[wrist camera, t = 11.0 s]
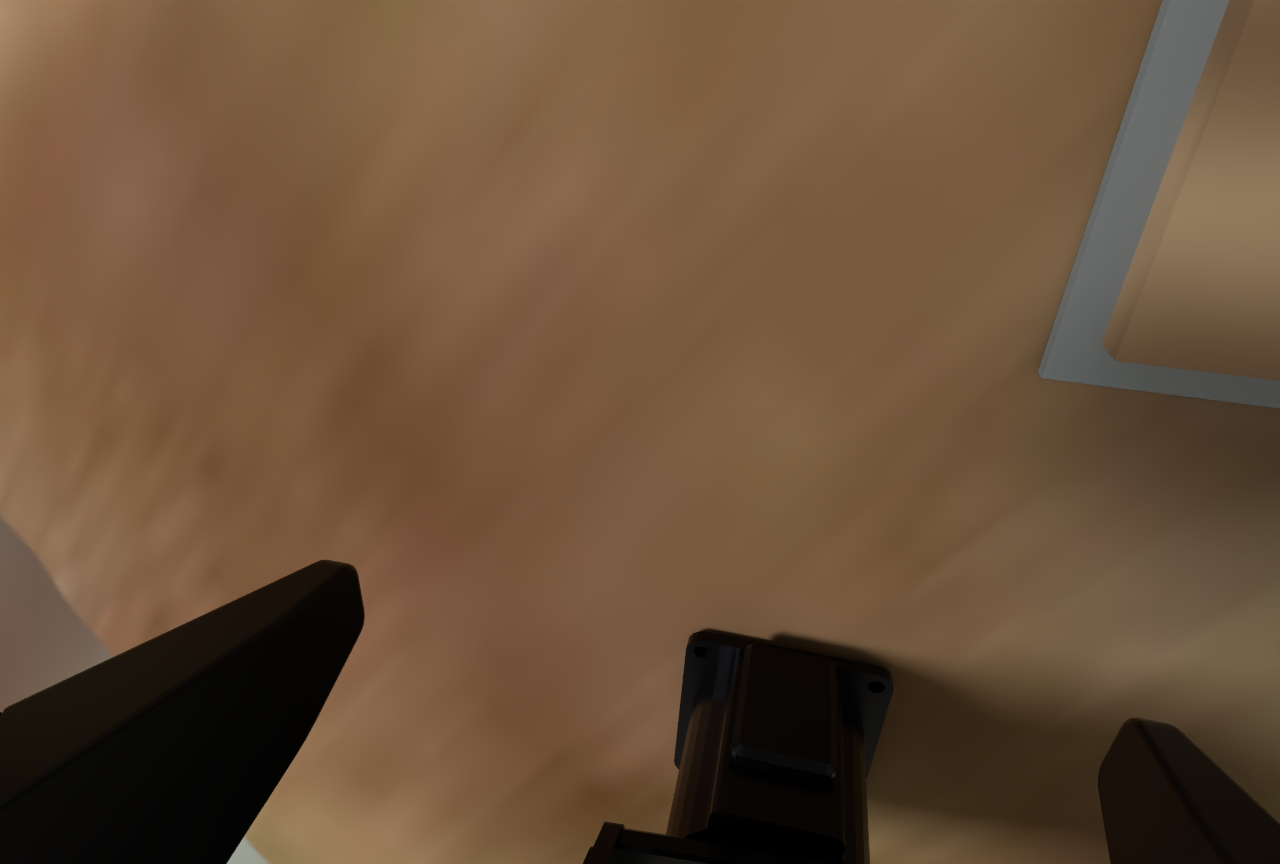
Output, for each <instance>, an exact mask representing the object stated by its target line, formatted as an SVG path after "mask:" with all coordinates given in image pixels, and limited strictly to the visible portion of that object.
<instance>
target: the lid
mask: <svg viewBox="0 0 1280 864" xmlns="http://www.w3.org/2000/svg"><path fill="white" fill-rule="evenodd" d="M1101 345H1102V346H1103V348H1104V349H1105V350H1106V351H1107V352H1108V353H1109V355H1110V356H1111V357H1112V358H1113V359H1114V360H1115V361H1120V362H1128V363H1136V364H1144V365H1153V366H1161V367H1169V368H1177V369H1185V370H1193V371H1202V372H1210V373H1218V374H1226V375H1234V376H1242V377H1251V378H1259V379H1267V380H1275V381H1280V0H1229V3H1228V5H1227V8H1226V11H1225V13H1224V16H1223V19H1222V21H1221V24H1220V27H1219V29H1218V32H1217V35H1216V37H1215V40H1214V43H1213V45H1212V48H1211V51H1210V53H1209V56H1208V59H1207V62H1206V64H1205V67H1204V70H1203V72H1202V75H1201V78H1200V80H1199V83H1198V86H1197V88H1196V91H1195V94H1194V96H1193V99H1192V102H1191V104H1190V107H1189V110H1188V112H1187V115H1186V118H1185V120H1184V123H1183V126H1182V128H1181V131H1180V134H1179V136H1178V139H1177V142H1176V144H1175V147H1174V150H1173V152H1172V155H1171V158H1170V160H1169V163H1168V166H1167V168H1166V171H1165V174H1164V176H1163V179H1162V182H1161V185H1160V187H1159V190H1158V193H1157V195H1156V198H1155V201H1154V203H1153V206H1152V209H1151V211H1150V214H1149V217H1148V219H1147V222H1146V225H1145V227H1144V230H1143V233H1142V235H1141V238H1140V241H1139V243H1138V246H1137V249H1136V251H1135V254H1134V257H1133V259H1132V262H1131V265H1130V267H1129V270H1128V273H1127V275H1126V278H1125V281H1124V283H1123V286H1122V289H1121V291H1120V294H1119V297H1118V299H1117V302H1116V305H1115V308H1114V310H1113V313H1112V316H1111V318H1110V321H1109V324H1108V326H1107V329H1106V332H1105V334H1104V337H1103V340H1102V342H1101Z"/></svg>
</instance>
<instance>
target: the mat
mask: <svg viewBox="0 0 1280 864" xmlns="http://www.w3.org/2000/svg"><path fill="white" fill-rule="evenodd" d="M1228 3H1229V0H1163V1H1162V4H1161V7H1160V10H1159V13H1158V16H1157V19H1156V22H1155V24H1154V27H1153V30H1152V33H1151V36H1150V39H1149V42H1148V45H1147V48H1146V51H1145V54H1144V57H1143V60H1142V63H1141V66H1140V69H1139V72H1138V75H1137V78H1136V81H1135V84H1134V87H1133V90H1132V93H1131V96H1130V99H1129V102H1128V105H1127V108H1126V111H1125V114H1124V117H1123V120H1122V123H1121V126H1120V129H1119V132H1118V135H1117V137H1116V140H1115V143H1114V146H1113V149H1112V152H1111V155H1110V158H1109V161H1108V164H1107V167H1106V170H1105V173H1104V176H1103V179H1102V182H1101V185H1100V188H1099V191H1098V194H1097V197H1096V200H1095V203H1094V206H1093V209H1092V212H1091V215H1090V218H1089V221H1088V224H1087V227H1086V230H1085V233H1084V236H1083V239H1082V242H1081V245H1080V248H1079V250H1078V253H1077V256H1076V259H1075V262H1074V265H1073V268H1072V271H1071V274H1070V277H1069V280H1068V283H1067V286H1066V289H1065V292H1064V295H1063V298H1062V301H1061V304H1060V307H1059V310H1058V313H1057V316H1056V319H1055V322H1054V325H1053V328H1052V331H1051V334H1050V337H1049V340H1048V343H1047V346H1046V349H1045V352H1044V355H1043V358H1042V361H1041V363H1040V366H1039V369H1038V373H1039V374H1040V376H1041V378H1044V379H1052V380H1060V381H1067V382H1075V383H1083V384H1091V385H1099V386H1107V387H1114V388H1122V389H1130V390H1138V391H1146V392H1154V393H1161V394H1169V395H1177V396H1185V397H1193V398H1201V399H1208V400H1216V401H1224V402H1232V403H1240V404H1248V405H1255V406H1263V407H1271V408H1279V409H1280V381H1275V380H1267V379H1259V378H1251V377H1242V376H1234V375H1226V374H1218V373H1210V372H1202V371H1193V370H1185V369H1177V368H1169V367H1161V366H1153V365H1144V364H1136V363H1128V362H1120V361H1115V360H1114V359H1113V358H1112V357H1111V356H1110V355H1109V353H1108V352H1107V351H1106V350H1105V349H1104V348H1103V346H1102V345H1101V342H1102V340H1103V337H1104V334H1105V332H1106V329H1107V326H1108V324H1109V321H1110V318H1111V316H1112V313H1113V310H1114V308H1115V305H1116V302H1117V299H1118V297H1119V294H1120V291H1121V289H1122V286H1123V283H1124V281H1125V278H1126V275H1127V273H1128V270H1129V267H1130V265H1131V262H1132V259H1133V257H1134V254H1135V251H1136V249H1137V246H1138V243H1139V241H1140V238H1141V235H1142V233H1143V230H1144V227H1145V225H1146V222H1147V219H1148V217H1149V214H1150V211H1151V209H1152V206H1153V203H1154V201H1155V198H1156V195H1157V193H1158V190H1159V187H1160V185H1161V182H1162V179H1163V176H1164V174H1165V171H1166V168H1167V166H1168V163H1169V160H1170V158H1171V155H1172V152H1173V150H1174V147H1175V144H1176V142H1177V139H1178V136H1179V134H1180V131H1181V128H1182V126H1183V123H1184V120H1185V118H1186V115H1187V112H1188V110H1189V107H1190V104H1191V102H1192V99H1193V96H1194V94H1195V91H1196V88H1197V86H1198V83H1199V80H1200V78H1201V75H1202V72H1203V70H1204V67H1205V64H1206V62H1207V59H1208V56H1209V53H1210V51H1211V48H1212V45H1213V43H1214V40H1215V37H1216V35H1217V32H1218V29H1219V27H1220V24H1221V21H1222V19H1223V16H1224V13H1225V11H1226V8H1227V5H1228Z"/></svg>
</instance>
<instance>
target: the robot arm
mask: <svg viewBox="0 0 1280 864" xmlns="http://www.w3.org/2000/svg"><path fill="white" fill-rule="evenodd" d="M364 616H365V614H364V606H363V601H362V595H361V589H360V583H359V578H358V573H357V570H356V569H355V567H354V566H352V565H350V564H347V563H342V562H337V561H332V560H320V561H318V562H315V563H313V564H311V565H309V566H307V567H305V568H302V569H300V570H298V571H296V572H294V573H292V574H290V575H288V576H285V577H283V578H281V579H279V580H277V581H275V582H273V583H270V584H268V585H266V586H264V587H262V588H260V589H258V590H256V591H253V592H251V593H249V594H247V595H245V596H243V597H241V598H238V599H236V600H234V601H232V602H230V603H228V604H226V605H224V606H221V607H219V608H217V609H215V610H213V611H211V612H209V613H206V614H204V615H202V616H200V617H198V618H196V619H194V620H192V621H189V622H187V623H185V624H183V625H181V626H179V627H177V628H174V629H172V630H170V631H168V632H166V633H164V634H162V635H160V636H157V637H155V638H153V639H151V640H149V641H147V642H145V643H142V644H140V645H138V646H136V647H134V648H132V649H130V650H128V651H125V652H123V653H121V654H119V655H117V656H115V657H113V658H110V659H109V660H106V661H104V662H102V663H100V664H98V665H96V666H93V667H91V668H89V669H87V670H85V671H83V672H81V673H78V674H76V675H74V676H72V677H70V678H68V679H66V680H63V681H61V682H59V683H57V684H55V685H53V686H51V687H48V688H46V689H44V690H42V691H40V692H38V693H36V694H33V695H31V696H29V697H27V698H25V699H23V700H21V701H19V702H16V703H14V704H12V705H10V706H8V707H7V708H5V709H4V711H3V712H2V713H1V712H0V864H227V862H228V860H229V859H230V857H231V856H232V854H233V853H234V851H235V850H236V848H237V846H238V845H239V843H240V842H241V840H242V839H243V837H244V836H245V834H246V832H247V831H248V829H249V828H250V826H251V825H252V823H253V822H254V820H255V818H256V817H257V815H258V814H259V812H260V811H261V809H262V808H263V806H264V804H265V803H266V801H267V800H268V798H269V797H270V795H271V794H272V792H273V790H274V789H275V787H276V786H277V784H278V783H279V781H280V780H281V778H282V776H283V775H284V773H285V772H286V770H287V769H288V767H289V766H290V764H291V762H292V761H293V759H294V758H295V756H296V755H297V753H298V751H299V750H300V748H301V746H302V745H303V743H304V741H305V740H306V738H307V736H308V734H309V733H310V731H311V729H312V727H313V725H314V723H315V722H316V720H317V718H318V716H319V714H320V712H321V710H322V708H323V706H324V704H325V702H326V700H327V698H328V696H329V694H330V692H331V690H332V688H333V686H334V684H335V682H336V680H337V678H338V676H339V674H340V672H341V670H342V669H343V667H344V665H345V663H346V661H347V659H348V657H349V655H350V653H351V651H352V649H353V647H354V645H355V643H356V641H357V639H358V637H359V635H360V633H361V631H362V628H363V624H364ZM698 646H703V647H705V648H707V649H701V648H699V647H698ZM873 681H879V682H881V683H872V682H873ZM892 692H893V681H892V675H891V673H890V672H889V671H888V670H887V669H885V668H883V667H880V666H876V665H871V664H865V663H860V662H855V661H850V660H845V659H840V658H835V657H830V656H825V655H819V654H814V653H809V652H804V651H799V650H794V649H789V648H784V647H779V646H773V645H768V644H763V643H758V642H753V641H748V640H743V639H738V638H733V637H727V636H722V635H717V634H712V633H707V632H696V633H693V634H692V635H691V636H690V637H689V640H688V643H687V648H686V655H685V665H684V674H683V683H682V693H681V702H680V711H679V721H678V730H677V739H676V749H675V758H674V763H675V765H676V767H677V768H678V769H679V773H678V778H677V783H676V788H675V793H674V798H673V803H672V807H671V812H670V817H669V822H668V827H667V832H666V835H665V834H659V833H653V832H646V831H640V830H633V829H627V828H625V827H624V824H617V823H611V822H604V824H603V826H602V829H601V831H600V833H599V835H598V838H597V840H596V842H595V844H594V847H590V849H589V851H588V853H587V855H586V858H585V860H584V862H583V864H870V854H869V832H868V810H867V789H866V778H867V775H868V771H869V768H870V765H871V761H872V758H873V755H874V751H875V748H876V745H877V742H878V738H879V735H880V732H881V728H882V725H883V722H884V718H885V715H886V712H887V708H888V705H889V702H890V698H891V695H892ZM1098 789H1099V795H1100V802H1101V808H1102V814H1103V820H1104V826H1105V832H1106V838H1107V844H1108V851H1109V857H1110V863H1111V864H1280V823H1278V822H1277V821H1276V820H1275V819H1274V818H1273V817H1272V816H1271V815H1270V814H1269V813H1268V812H1267V811H1266V810H1265V809H1264V808H1262V807H1261V806H1260V805H1259V804H1258V803H1257V802H1256V801H1255V800H1254V799H1253V798H1252V797H1251V796H1250V795H1249V794H1247V793H1246V792H1245V791H1244V790H1243V789H1242V788H1241V787H1240V786H1239V785H1238V784H1237V783H1236V782H1235V781H1234V780H1232V779H1231V778H1230V777H1229V776H1228V775H1227V774H1226V773H1225V772H1224V771H1223V770H1222V769H1221V768H1220V767H1219V766H1217V765H1216V764H1215V763H1214V762H1213V761H1212V760H1211V759H1210V758H1209V757H1208V756H1207V755H1206V754H1205V753H1204V752H1202V751H1201V750H1200V749H1199V748H1198V747H1197V746H1196V745H1195V744H1194V743H1193V742H1192V741H1191V740H1190V739H1189V738H1187V737H1186V736H1185V735H1184V734H1183V733H1182V732H1181V731H1180V730H1178V729H1177V728H1176V727H1174V726H1172V725H1169V724H1166V723H1161V722H1156V721H1151V720H1146V719H1141V718H1130V719H1128V720H1127V721H1125V722H1124V723H1123V725H1122V726H1121V728H1120V730H1119V732H1118V734H1117V736H1116V738H1115V739H1114V741H1113V743H1112V745H1111V747H1110V749H1109V751H1108V753H1107V755H1106V756H1105V758H1104V760H1103V762H1102V764H1101V767H1100V770H1099V776H1098Z"/></svg>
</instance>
